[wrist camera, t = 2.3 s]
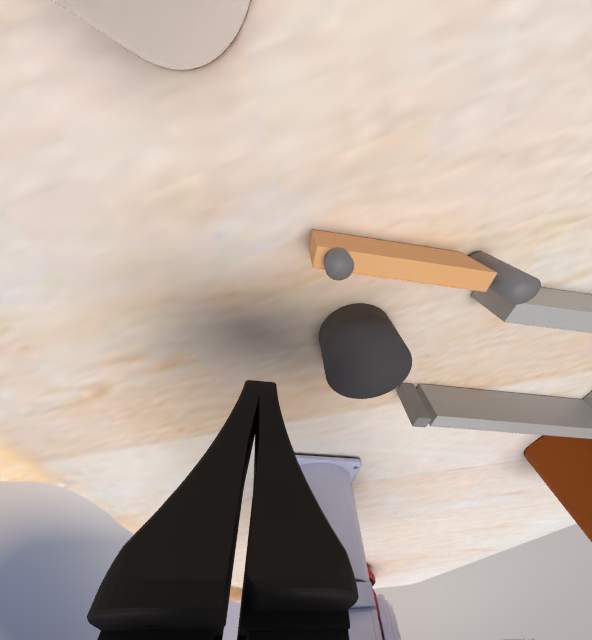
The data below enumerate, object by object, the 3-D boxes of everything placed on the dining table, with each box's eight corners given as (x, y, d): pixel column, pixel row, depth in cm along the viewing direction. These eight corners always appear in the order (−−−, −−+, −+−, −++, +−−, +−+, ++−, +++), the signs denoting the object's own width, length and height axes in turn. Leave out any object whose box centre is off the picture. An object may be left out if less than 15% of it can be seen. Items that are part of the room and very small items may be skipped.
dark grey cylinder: (377, 363, 19) (394, 401, 16) (313, 358, 19) (318, 395, 16) (401, 307, 17) (426, 340, 14) (327, 299, 16) (336, 331, 13)
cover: (308, 251, 14) (313, 279, 11) (312, 225, 13) (319, 247, 10) (480, 276, 15) (531, 308, 12) (493, 253, 14) (551, 281, 11)
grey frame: (584, 409, 23) (623, 443, 20) (396, 392, 21) (411, 427, 18) (700, 310, 17) (777, 338, 14) (458, 275, 15) (494, 300, 13)
